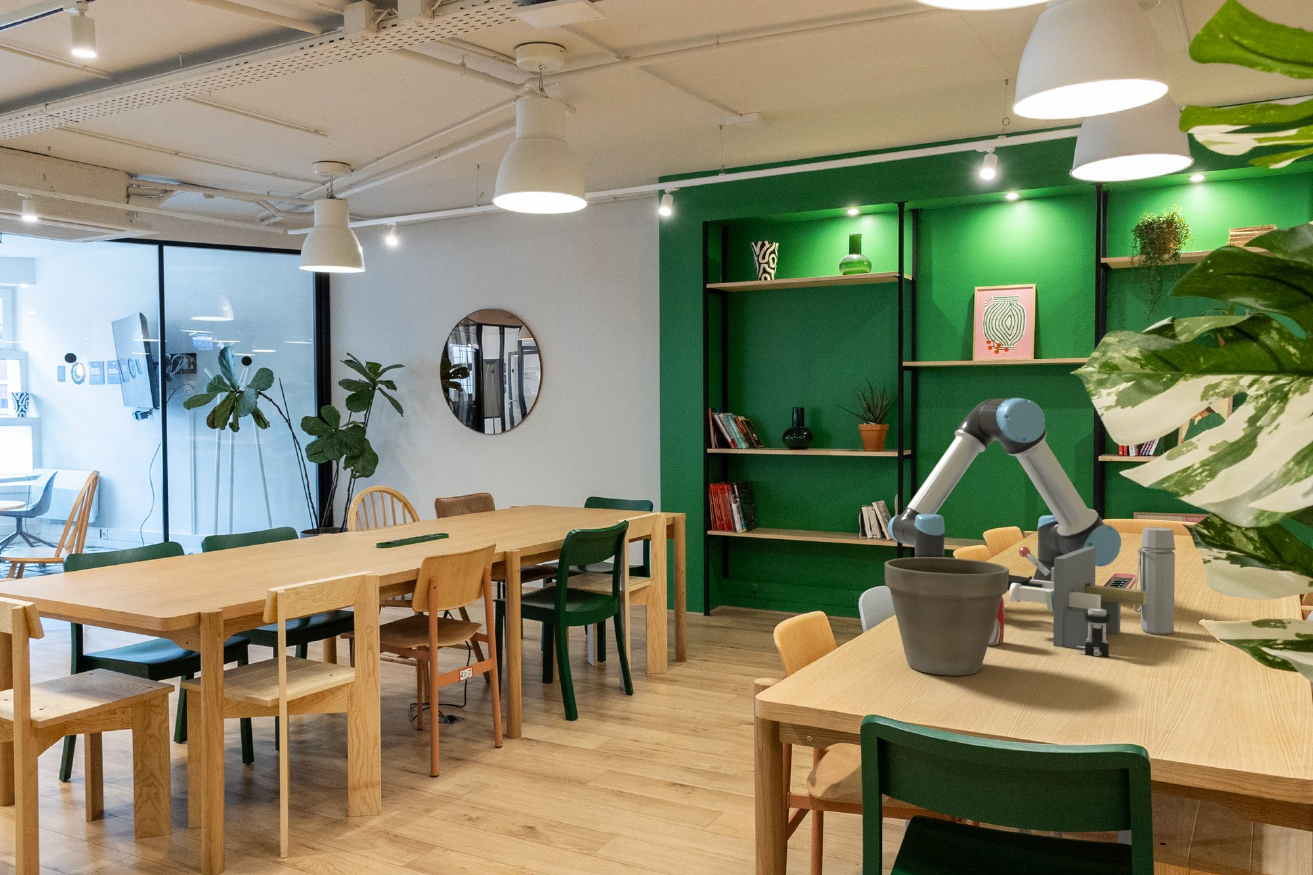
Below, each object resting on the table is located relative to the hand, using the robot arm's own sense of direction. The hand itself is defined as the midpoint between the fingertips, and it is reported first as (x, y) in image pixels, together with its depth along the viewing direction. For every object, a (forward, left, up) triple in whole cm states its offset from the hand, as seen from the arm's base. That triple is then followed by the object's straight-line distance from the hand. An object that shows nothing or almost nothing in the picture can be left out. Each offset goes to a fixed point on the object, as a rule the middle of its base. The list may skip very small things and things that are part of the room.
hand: (1057, 588), depth 240 cm
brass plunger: (-3, +10, -2) cm, 10 cm away
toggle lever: (+15, +4, +5) cm, 17 cm away
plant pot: (+51, +7, -10) cm, 53 cm away
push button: (+16, +19, -10) cm, 27 cm away
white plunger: (+11, +6, -2) cm, 13 cm away
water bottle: (-16, +15, -10) cm, 24 cm away
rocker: (+14, +8, -2) cm, 17 cm away
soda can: (+26, -1, -10) cm, 28 cm away
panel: (+3, +10, -10) cm, 15 cm away
